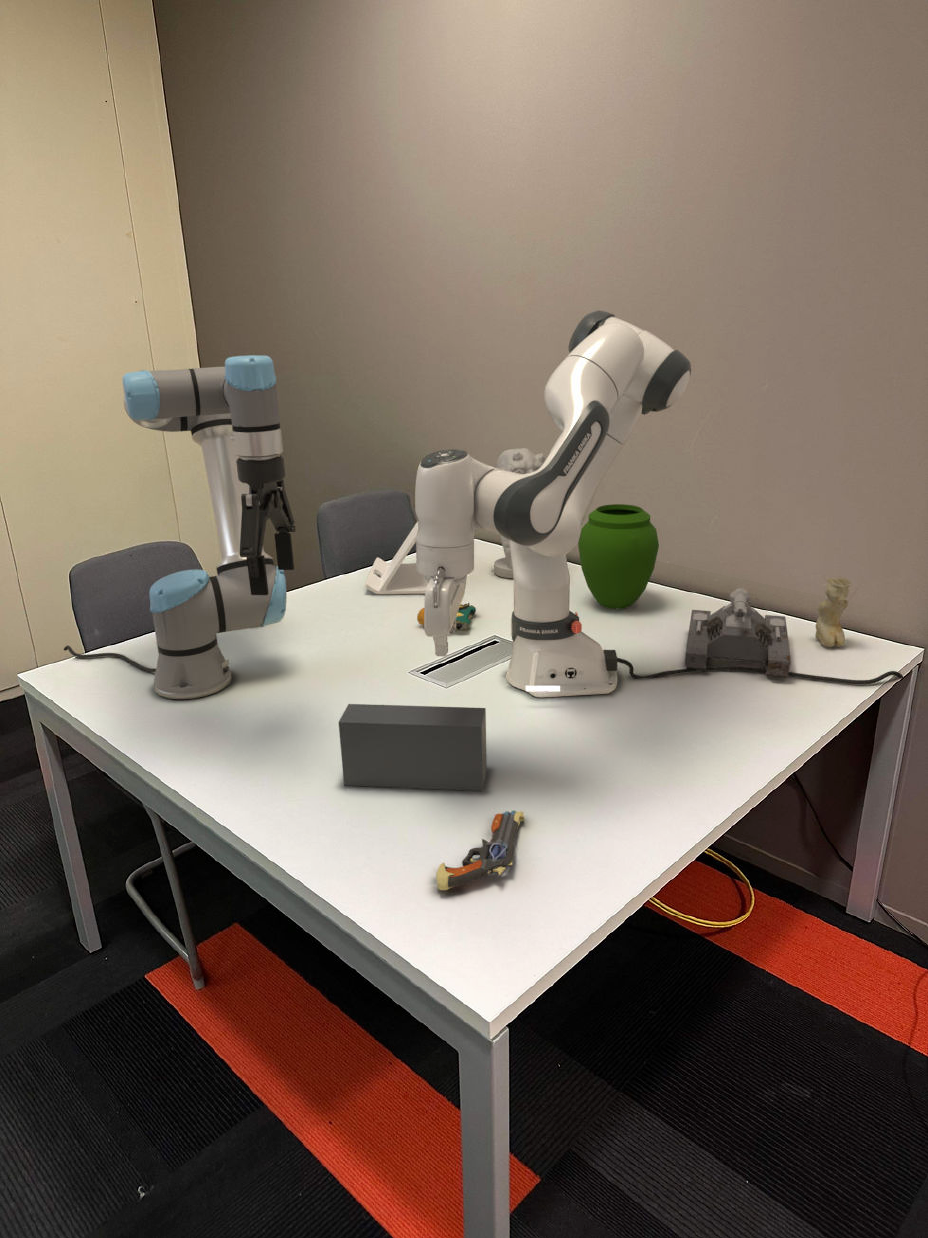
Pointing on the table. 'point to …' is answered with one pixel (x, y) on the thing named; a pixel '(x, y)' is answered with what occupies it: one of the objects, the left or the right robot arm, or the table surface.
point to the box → (414, 747)
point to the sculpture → (832, 613)
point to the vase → (618, 554)
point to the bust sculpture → (521, 464)
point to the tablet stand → (397, 572)
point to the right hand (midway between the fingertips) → (446, 643)
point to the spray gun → (462, 616)
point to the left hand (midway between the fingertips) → (273, 581)
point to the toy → (738, 636)
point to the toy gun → (485, 854)
